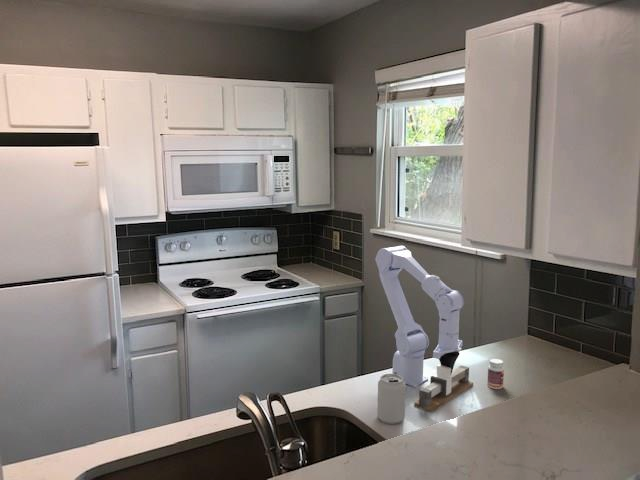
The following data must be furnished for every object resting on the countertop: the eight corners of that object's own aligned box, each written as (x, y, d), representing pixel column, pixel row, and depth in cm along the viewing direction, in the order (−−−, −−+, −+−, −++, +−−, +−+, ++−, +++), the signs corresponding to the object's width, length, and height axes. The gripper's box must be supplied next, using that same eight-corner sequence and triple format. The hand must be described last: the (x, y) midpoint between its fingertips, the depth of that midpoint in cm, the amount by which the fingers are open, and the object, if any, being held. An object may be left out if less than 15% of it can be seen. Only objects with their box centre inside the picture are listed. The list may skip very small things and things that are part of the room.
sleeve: (431, 390, 160) (432, 366, 158) (436, 387, 162) (437, 364, 161) (446, 395, 156) (447, 371, 155) (451, 392, 159) (452, 368, 157)
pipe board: (414, 405, 154) (414, 388, 153) (455, 379, 172) (456, 364, 171) (432, 412, 150) (432, 394, 149) (473, 385, 168) (473, 368, 167)
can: (386, 427, 141) (387, 385, 139) (372, 415, 148) (373, 374, 146) (409, 422, 144) (411, 380, 142) (395, 410, 151) (396, 370, 149)
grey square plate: (430, 392, 159) (430, 376, 158) (431, 390, 160) (432, 375, 159) (444, 396, 156) (444, 381, 155) (446, 395, 156) (446, 380, 156)
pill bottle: (504, 390, 165) (505, 364, 163) (488, 388, 166) (489, 363, 164) (502, 383, 169) (503, 358, 168) (486, 382, 170) (487, 357, 169)
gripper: (448, 340, 151) (447, 385, 153) (472, 328, 161) (470, 371, 163) (427, 335, 155) (425, 379, 157) (451, 324, 166) (449, 365, 168)
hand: (447, 374), depth 161 cm, fingers closed
